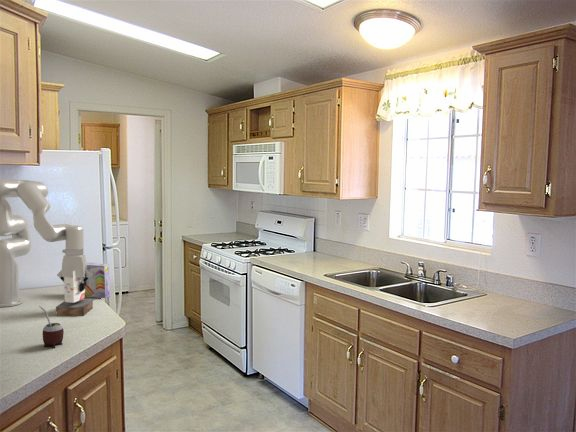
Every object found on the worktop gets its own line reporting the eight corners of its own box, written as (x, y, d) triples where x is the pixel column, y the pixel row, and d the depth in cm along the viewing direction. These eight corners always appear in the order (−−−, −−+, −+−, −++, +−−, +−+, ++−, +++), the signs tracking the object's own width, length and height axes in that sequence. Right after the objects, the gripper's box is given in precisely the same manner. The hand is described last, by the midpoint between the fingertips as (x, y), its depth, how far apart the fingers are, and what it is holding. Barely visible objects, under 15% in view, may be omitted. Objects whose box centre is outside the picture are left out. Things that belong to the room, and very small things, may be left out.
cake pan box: (72, 296, 246) (72, 262, 244) (78, 293, 251) (78, 261, 249) (104, 299, 242) (104, 265, 240) (110, 297, 247) (110, 263, 245)
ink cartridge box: (75, 297, 223) (75, 266, 222) (85, 298, 222) (85, 267, 221) (63, 302, 215) (63, 270, 213) (73, 303, 214) (73, 271, 213)
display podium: (55, 315, 212) (55, 307, 212) (66, 307, 225) (66, 299, 224) (84, 316, 213) (84, 307, 213) (93, 308, 226) (93, 300, 225)
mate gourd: (64, 347, 176) (64, 307, 175) (41, 350, 172) (40, 310, 170) (62, 340, 182) (61, 302, 181) (39, 344, 178) (38, 305, 176)
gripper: (51, 253, 212) (52, 292, 214) (91, 254, 213) (91, 293, 215) (58, 250, 220) (58, 288, 221) (96, 251, 221) (96, 289, 223)
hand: (74, 290), depth 218 cm, fingers closed on ink cartridge box, 5 cm apart
